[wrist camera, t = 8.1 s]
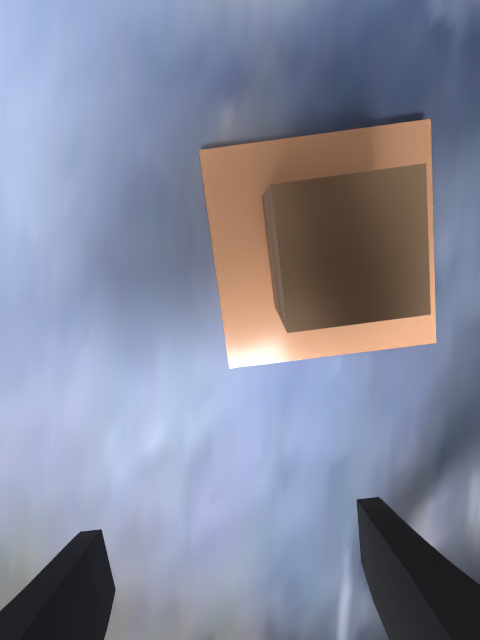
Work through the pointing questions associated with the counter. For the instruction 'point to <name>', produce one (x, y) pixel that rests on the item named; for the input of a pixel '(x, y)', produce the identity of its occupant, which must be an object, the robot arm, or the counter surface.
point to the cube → (349, 248)
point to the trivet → (252, 250)
